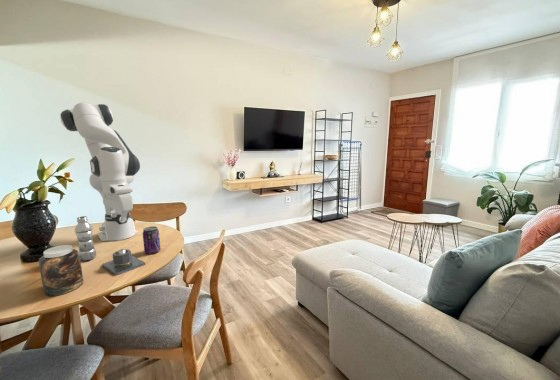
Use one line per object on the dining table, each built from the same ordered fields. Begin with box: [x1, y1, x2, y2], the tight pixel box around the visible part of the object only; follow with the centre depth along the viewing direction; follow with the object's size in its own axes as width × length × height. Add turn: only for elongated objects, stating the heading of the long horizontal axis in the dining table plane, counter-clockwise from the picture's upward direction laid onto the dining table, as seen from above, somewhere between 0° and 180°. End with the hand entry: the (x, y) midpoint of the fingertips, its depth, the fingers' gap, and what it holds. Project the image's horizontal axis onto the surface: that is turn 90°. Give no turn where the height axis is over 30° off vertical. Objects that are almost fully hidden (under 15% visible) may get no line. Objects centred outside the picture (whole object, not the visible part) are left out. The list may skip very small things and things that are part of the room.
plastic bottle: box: [74, 215, 97, 262], centre depth 120 cm, size 6×7×20 cm
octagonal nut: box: [112, 249, 133, 265], centre depth 115 cm, size 6×6×4 cm
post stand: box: [101, 248, 146, 276], centre depth 115 cm, size 14×12×7 cm
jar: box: [38, 244, 84, 297], centre depth 98 cm, size 12×12×15 cm
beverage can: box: [142, 225, 161, 255], centre depth 129 cm, size 7×7×12 cm
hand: (118, 218), depth 112 cm, fingers open, 8 cm apart
